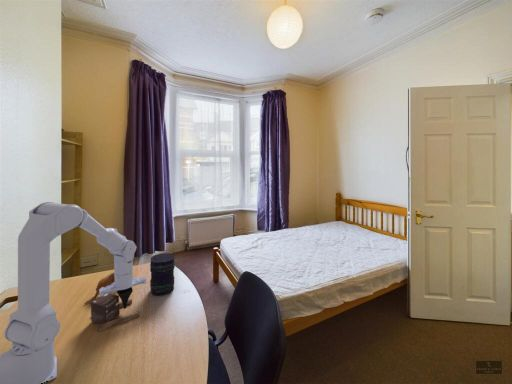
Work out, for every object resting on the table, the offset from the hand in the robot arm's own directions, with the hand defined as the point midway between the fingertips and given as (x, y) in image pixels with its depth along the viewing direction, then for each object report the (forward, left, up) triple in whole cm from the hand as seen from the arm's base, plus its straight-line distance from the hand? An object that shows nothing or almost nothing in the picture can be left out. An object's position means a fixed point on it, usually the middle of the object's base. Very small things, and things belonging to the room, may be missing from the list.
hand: (124, 307), depth 80 cm
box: (-6, 0, -2) cm, 6 cm away
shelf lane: (-3, 0, -2) cm, 3 cm away
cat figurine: (-3, +18, -2) cm, 18 cm away
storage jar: (+16, +7, -2) cm, 18 cm away
